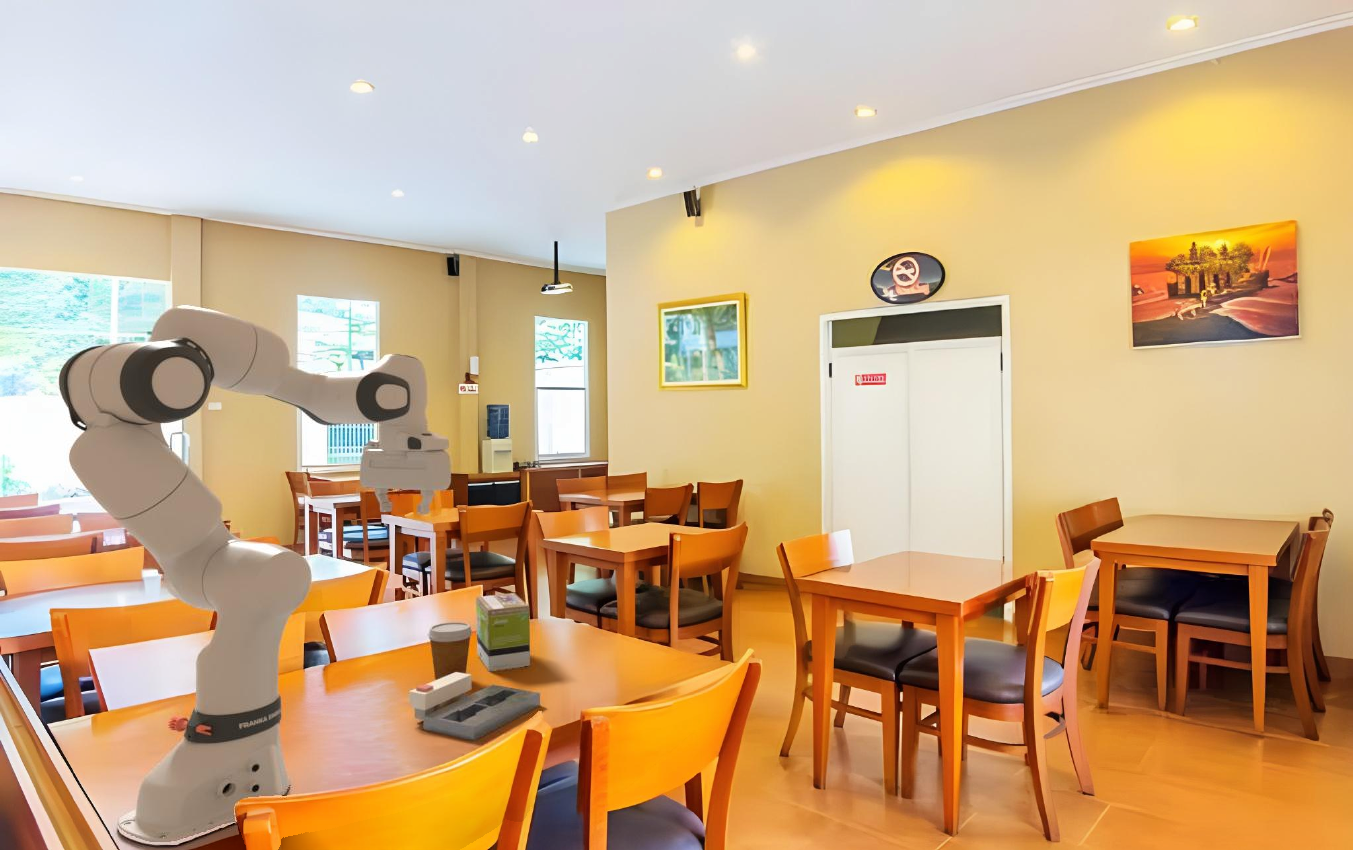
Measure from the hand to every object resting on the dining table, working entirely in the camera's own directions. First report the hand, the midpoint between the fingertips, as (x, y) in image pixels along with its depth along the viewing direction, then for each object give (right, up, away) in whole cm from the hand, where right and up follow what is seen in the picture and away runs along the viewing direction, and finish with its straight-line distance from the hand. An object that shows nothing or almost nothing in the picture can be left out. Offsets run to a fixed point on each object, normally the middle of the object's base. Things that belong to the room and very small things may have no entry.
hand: (404, 512), depth 151 cm
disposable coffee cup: (+2, -40, +24) cm, 47 cm away
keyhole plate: (+15, -40, +3) cm, 43 cm away
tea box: (+10, -40, +39) cm, 57 cm away
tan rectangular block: (+6, -40, +5) cm, 41 cm away
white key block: (+6, -37, +5) cm, 38 cm away
